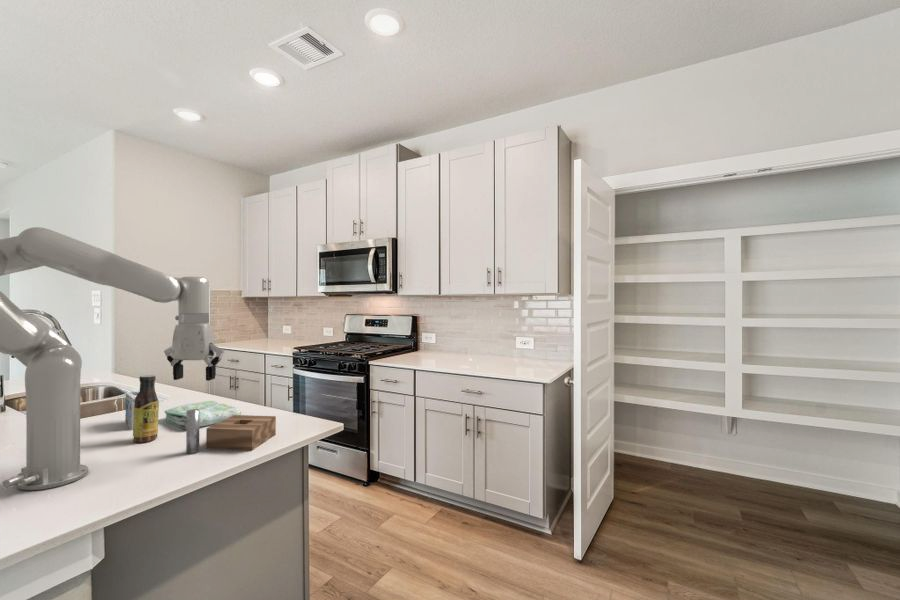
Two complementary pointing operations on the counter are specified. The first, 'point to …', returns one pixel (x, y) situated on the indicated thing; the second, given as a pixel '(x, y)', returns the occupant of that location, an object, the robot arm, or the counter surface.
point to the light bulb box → (130, 408)
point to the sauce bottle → (146, 411)
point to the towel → (201, 413)
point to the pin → (192, 431)
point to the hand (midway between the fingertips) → (194, 379)
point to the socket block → (240, 432)
